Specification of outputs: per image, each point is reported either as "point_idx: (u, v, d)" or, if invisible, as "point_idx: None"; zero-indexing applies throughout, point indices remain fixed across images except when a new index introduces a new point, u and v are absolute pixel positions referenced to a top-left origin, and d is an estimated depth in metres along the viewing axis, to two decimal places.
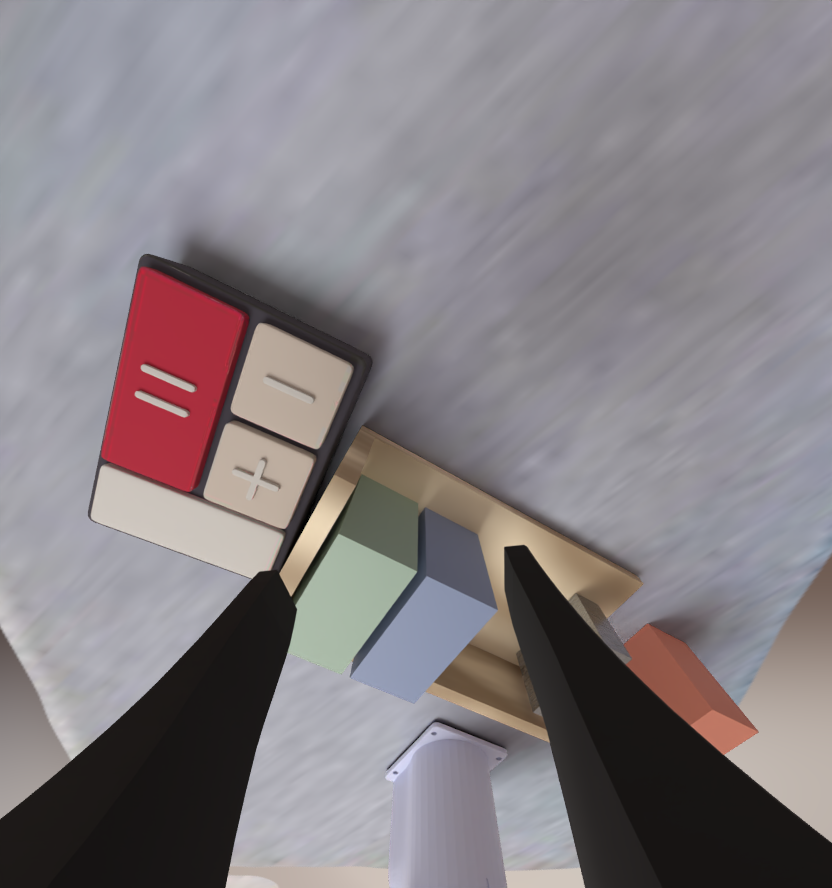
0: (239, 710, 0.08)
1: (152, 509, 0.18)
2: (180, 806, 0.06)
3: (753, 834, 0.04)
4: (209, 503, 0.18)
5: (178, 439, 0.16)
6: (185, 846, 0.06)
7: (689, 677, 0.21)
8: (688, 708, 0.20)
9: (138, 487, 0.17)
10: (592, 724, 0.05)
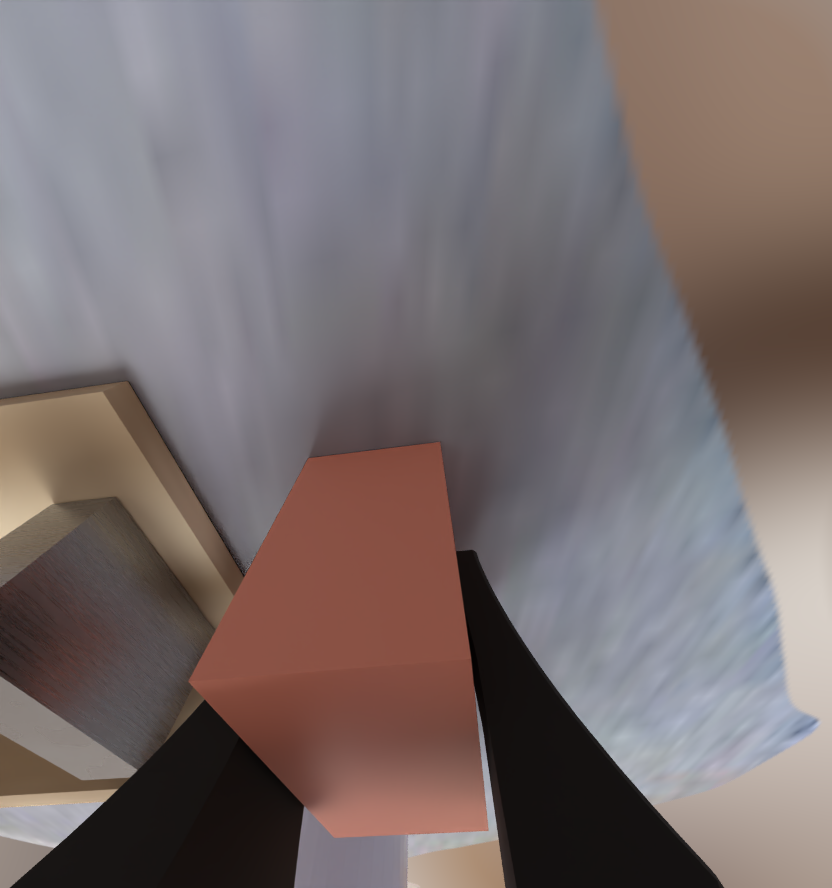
0: None
1: None
2: (258, 802, 0.06)
3: (618, 840, 0.04)
4: None
5: None
6: (263, 842, 0.06)
7: (251, 571, 0.06)
8: None
9: None
10: (496, 730, 0.05)
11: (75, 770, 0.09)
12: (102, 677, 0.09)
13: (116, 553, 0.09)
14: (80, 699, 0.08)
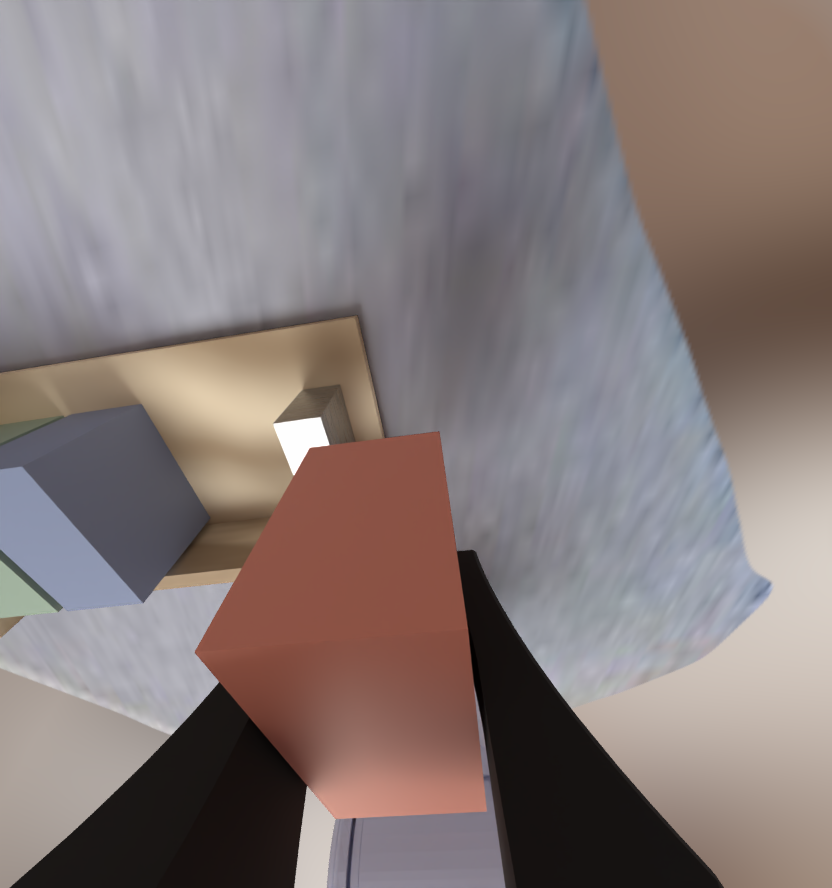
0: None
1: None
2: (257, 802, 0.06)
3: (617, 840, 0.04)
4: None
5: None
6: (263, 842, 0.06)
7: (254, 551, 0.06)
8: None
9: None
10: (496, 731, 0.05)
11: None
12: None
13: (343, 415, 0.16)
14: None
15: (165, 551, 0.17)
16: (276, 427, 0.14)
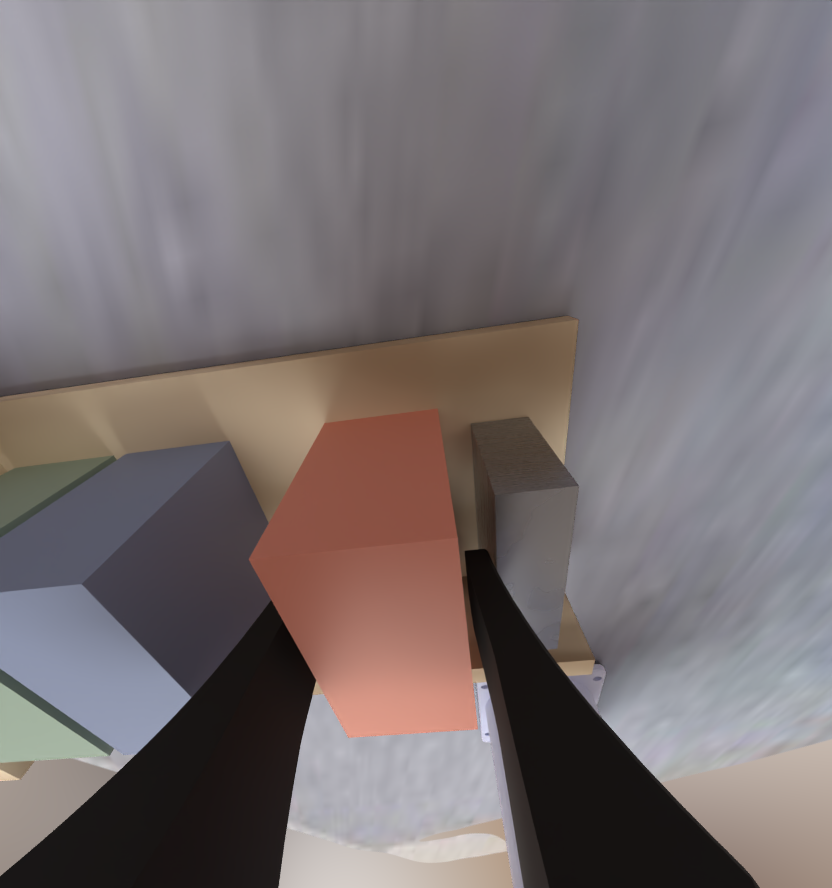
0: (285, 707, 0.08)
1: None
2: (240, 803, 0.06)
3: (649, 839, 0.04)
4: None
5: None
6: (245, 843, 0.06)
7: (286, 497, 0.08)
8: None
9: None
10: (518, 729, 0.05)
11: None
12: None
13: None
14: None
15: None
16: (493, 499, 0.08)
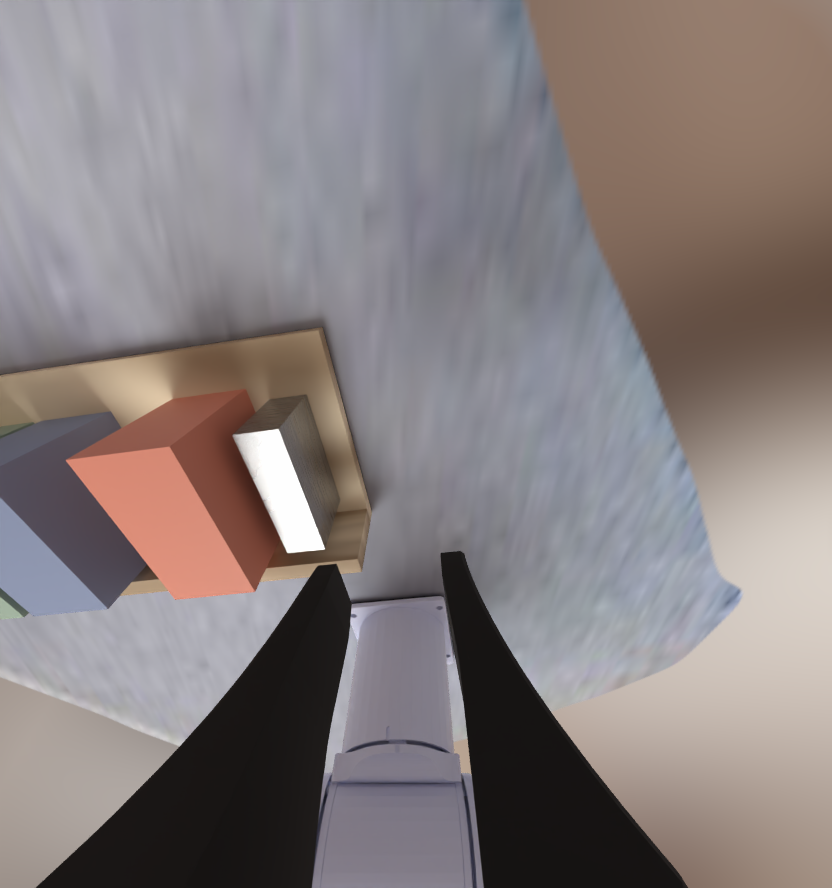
0: (314, 704, 0.08)
1: None
2: (277, 801, 0.06)
3: (587, 841, 0.04)
4: None
5: None
6: (282, 841, 0.06)
7: (109, 435, 0.13)
8: None
9: None
10: (474, 732, 0.05)
11: (288, 542, 0.17)
12: (310, 484, 0.16)
13: (309, 424, 0.17)
14: (306, 489, 0.15)
15: (133, 556, 0.18)
16: (236, 438, 0.14)
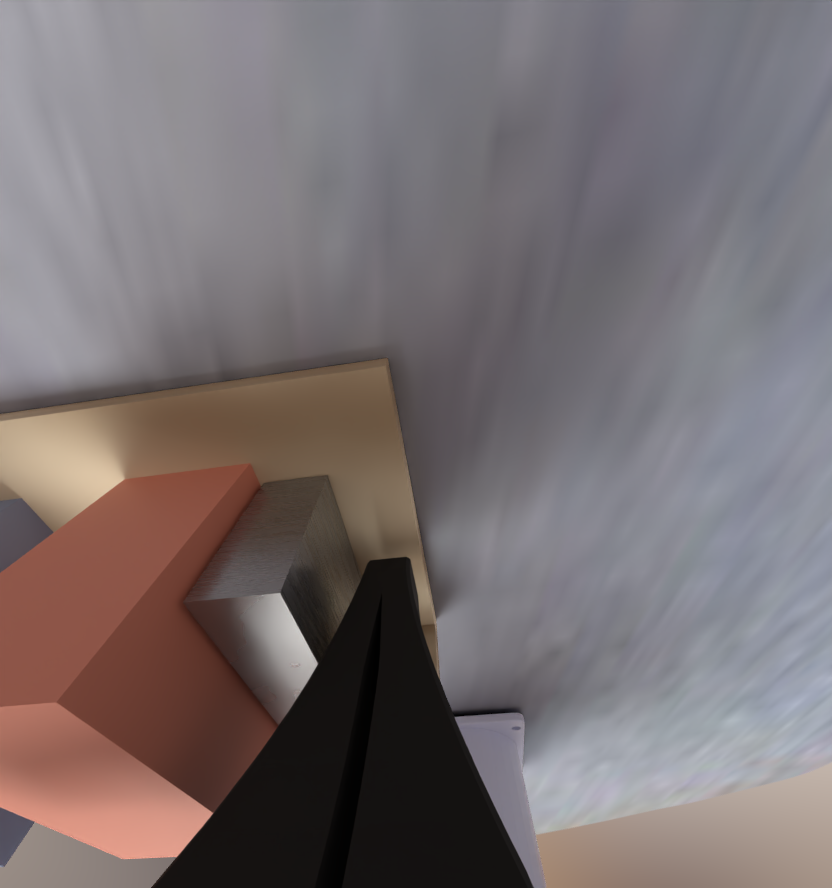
0: None
1: None
2: None
3: (451, 847, 0.04)
4: None
5: None
6: None
7: None
8: None
9: None
10: (376, 738, 0.05)
11: None
12: None
13: (332, 529, 0.10)
14: None
15: None
16: (193, 603, 0.07)
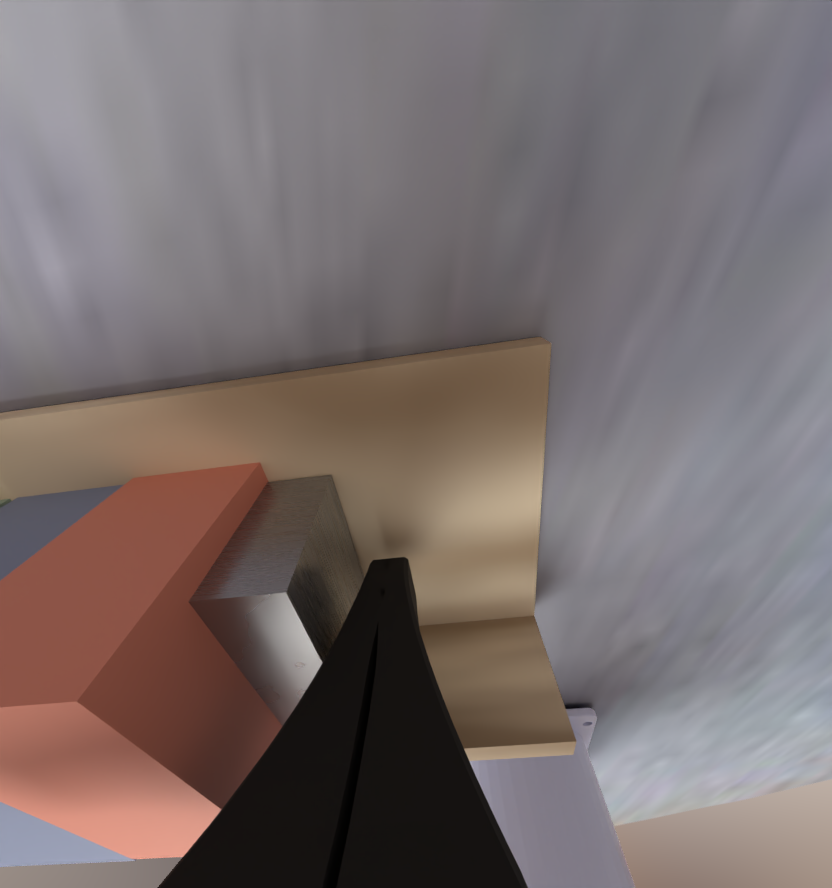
0: None
1: None
2: None
3: (445, 848, 0.04)
4: None
5: None
6: None
7: None
8: None
9: None
10: (372, 739, 0.05)
11: None
12: None
13: (336, 528, 0.10)
14: None
15: None
16: (199, 602, 0.07)
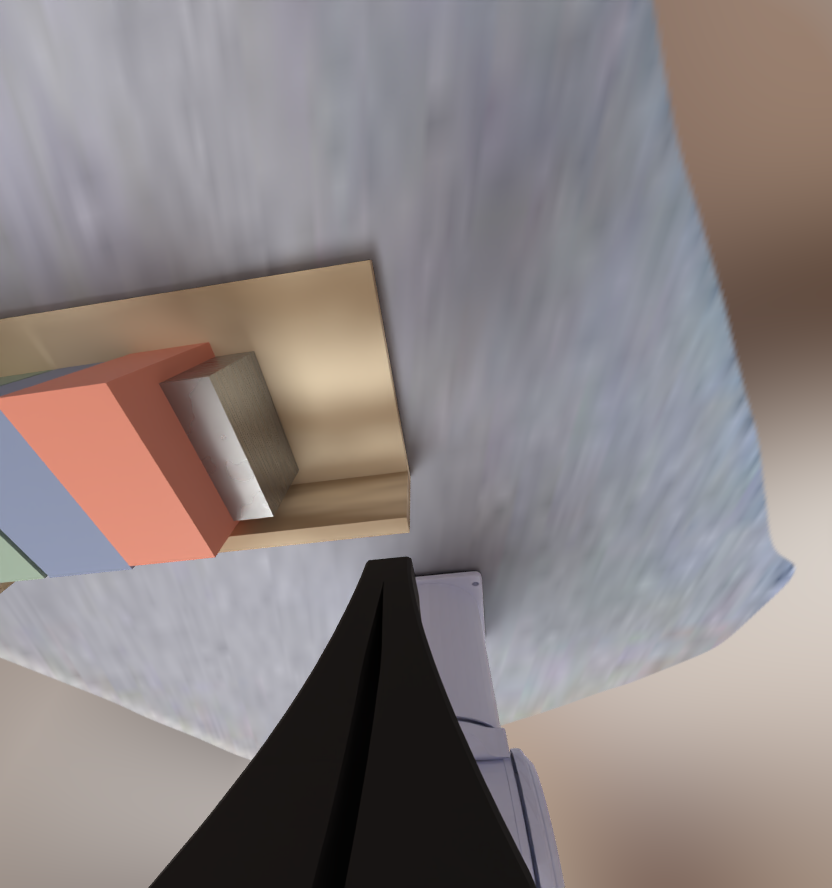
0: None
1: None
2: None
3: (453, 847, 0.04)
4: None
5: None
6: None
7: (49, 380, 0.12)
8: None
9: None
10: (378, 738, 0.05)
11: (233, 509, 0.15)
12: (255, 445, 0.15)
13: (256, 383, 0.16)
14: (248, 449, 0.14)
15: None
16: (165, 388, 0.13)
